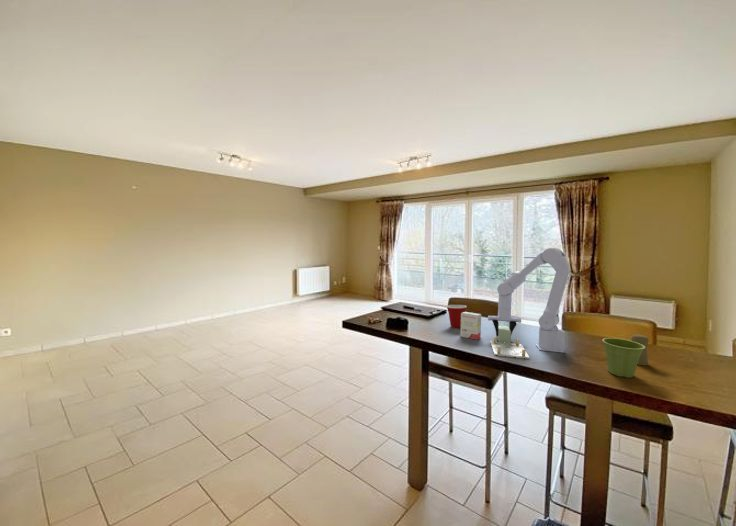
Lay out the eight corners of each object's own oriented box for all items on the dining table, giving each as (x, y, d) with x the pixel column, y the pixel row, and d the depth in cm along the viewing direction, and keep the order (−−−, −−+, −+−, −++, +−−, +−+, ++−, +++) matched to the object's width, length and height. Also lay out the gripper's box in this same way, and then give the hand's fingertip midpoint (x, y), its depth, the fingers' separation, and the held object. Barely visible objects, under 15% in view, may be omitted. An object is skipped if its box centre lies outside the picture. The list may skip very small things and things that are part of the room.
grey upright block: (624, 360, 125) (626, 333, 124) (634, 359, 127) (636, 332, 126) (642, 366, 119) (644, 338, 118) (652, 364, 121) (654, 336, 121)
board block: (507, 337, 155) (507, 326, 154) (510, 343, 145) (511, 331, 145) (496, 336, 156) (496, 325, 156) (498, 342, 146) (499, 330, 146)
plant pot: (597, 373, 112) (599, 342, 111) (603, 364, 120) (605, 335, 120) (641, 384, 104) (643, 351, 103) (644, 374, 112) (646, 343, 111)
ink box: (481, 337, 153) (482, 313, 152) (477, 340, 149) (478, 315, 148) (464, 334, 158) (464, 311, 157) (459, 336, 154) (460, 312, 154)
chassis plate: (521, 345, 141) (521, 339, 141) (529, 359, 125) (529, 351, 125) (490, 342, 145) (490, 336, 145) (494, 355, 129) (494, 348, 128)
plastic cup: (453, 323, 179) (454, 302, 179) (470, 327, 171) (471, 305, 170) (441, 326, 172) (442, 304, 172) (458, 330, 164) (459, 308, 163)
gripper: (519, 307, 151) (518, 335, 152) (487, 305, 155) (486, 332, 156) (522, 310, 144) (521, 339, 145) (489, 308, 148) (487, 336, 149)
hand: (503, 336), depth 150 cm, fingers closed on board block, 5 cm apart
